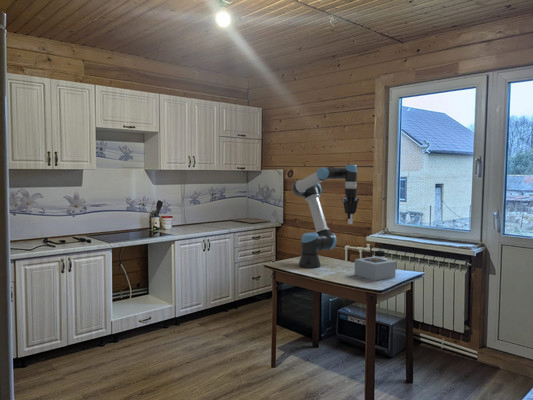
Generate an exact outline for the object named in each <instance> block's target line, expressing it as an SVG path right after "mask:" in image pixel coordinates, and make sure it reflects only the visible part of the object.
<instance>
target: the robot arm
mask: <svg viewBox="0 0 533 400" xmlns="http://www.w3.org/2000/svg"><path fill="white" fill-rule="evenodd" d="M326 180H345V181H344V188H345V189H344V195H345V196H344V198H342V200H341V201H342V203H343V208H344V213H345V214H347V217H346V218H347V224H348V225H353V224H354V223H353V219H354V215H355V214H356V213H357V208H358V203H359V200H360V199H359V197H358V198H357V195H358V194H357V190H358V189H357V187H358V186H357V185H358V184H357V183H358V166H357V164H346V165H345V166H344V167H318V169H317V170H316V172H314V173H312V174H311V175H308V176H306V177H305V178H303V179H297V180H296V181H295V182H293V184H292V186H291V191H292V193H293V195H294V196H296V197H299V198H302V197H304V200H305V201H306V202H307V203H308V207H309V209H310V214H311V217H312V221H313V224H314V228H315V232H305V233H303V234H302V235H301V238H300V239H301V244H300V245H301V248H300V249H301V251H300V252H301V254H300V255H301V256H300V257H299V261H298V266H299V267H300V268H304V269H316V268H321V262H320V258H319V251H329V250H333V249H334V248H335V247H336V245H337V235H336V234H335V233H333V232H332V231H331V229H330V228H329V227H328V224H327V220H326V218H325V214H324V211H323V207H322V203H321V200H320V198H321V195H322V186H321V183H323V182H325V181H326Z"/></svg>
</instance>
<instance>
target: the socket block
mask: <svg viewBox="0 0 533 400" xmlns="http://www.w3.org/2000/svg"><path fill="white" fill-rule="evenodd" d="M372 259H378V261H372ZM387 259H388V258H386V259H383V258H379V257H375V256H369V257H363V258H355V259H354V276H359V277H360V278H361V277H362V278H364V279H368V280H372V281H375V282H376V281H381V280H385V279H392V278H396V269H397V268H396V263H397V262H396V260H391V259H388V260H387Z"/></svg>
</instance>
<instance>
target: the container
mask: <svg viewBox="0 0 533 400" xmlns="http://www.w3.org/2000/svg"><path fill="white" fill-rule="evenodd" d="M385 255H386V251H384V250H380V249H377V250H375V251H374V257H379V258H383V259H387V260H389V259H388V258H386V256H385Z"/></svg>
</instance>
